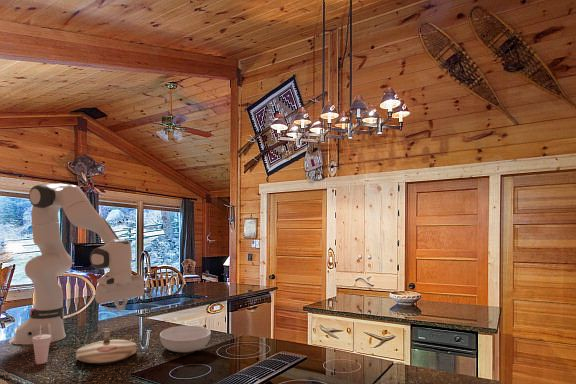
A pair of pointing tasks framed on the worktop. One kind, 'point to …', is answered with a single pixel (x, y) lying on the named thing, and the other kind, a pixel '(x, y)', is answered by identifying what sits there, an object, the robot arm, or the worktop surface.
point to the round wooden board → (106, 350)
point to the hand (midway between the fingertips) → (120, 310)
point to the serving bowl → (185, 338)
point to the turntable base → (106, 362)
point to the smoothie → (41, 347)
